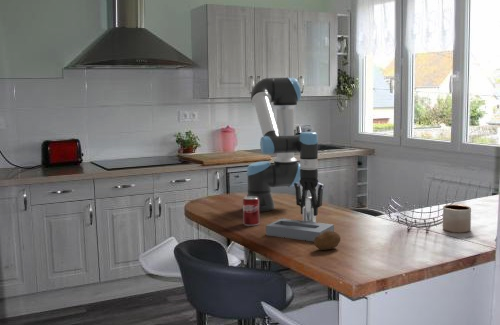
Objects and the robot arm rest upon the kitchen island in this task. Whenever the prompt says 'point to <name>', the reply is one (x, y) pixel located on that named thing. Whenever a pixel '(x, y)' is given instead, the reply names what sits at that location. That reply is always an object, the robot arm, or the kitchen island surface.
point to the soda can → (251, 211)
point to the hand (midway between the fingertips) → (309, 222)
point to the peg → (308, 209)
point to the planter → (456, 218)
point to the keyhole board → (297, 229)
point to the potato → (327, 240)
